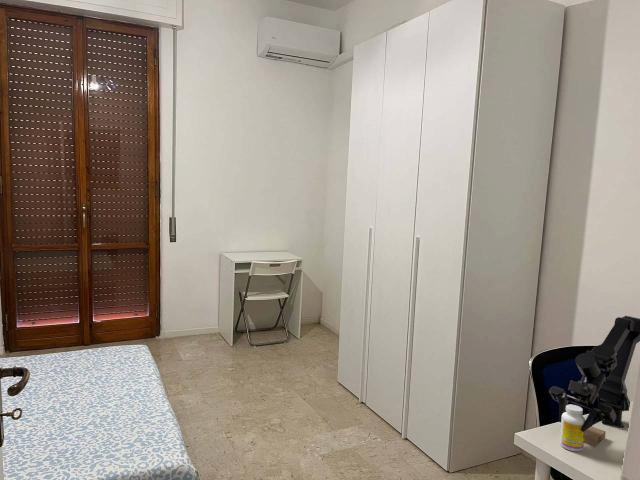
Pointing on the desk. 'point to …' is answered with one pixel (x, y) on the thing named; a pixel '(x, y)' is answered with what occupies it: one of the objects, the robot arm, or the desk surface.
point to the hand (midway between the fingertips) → (570, 426)
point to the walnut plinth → (594, 436)
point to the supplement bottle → (572, 428)
